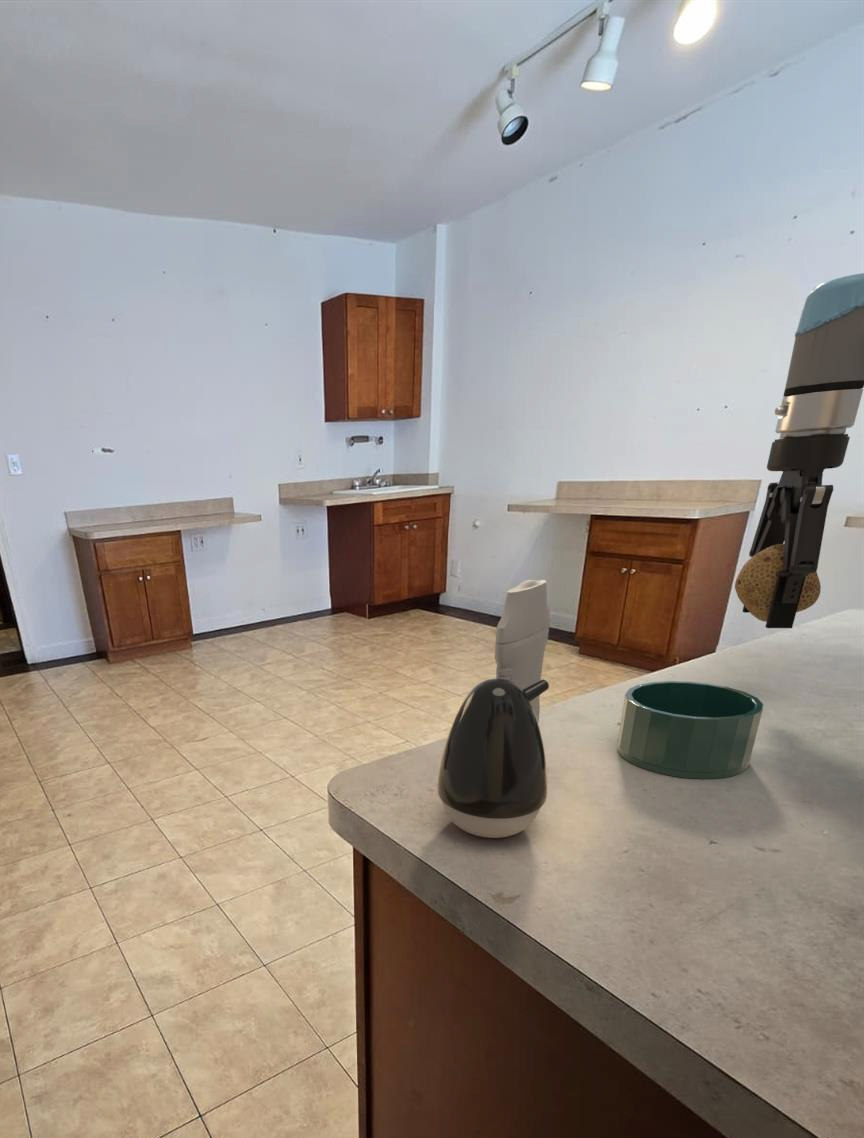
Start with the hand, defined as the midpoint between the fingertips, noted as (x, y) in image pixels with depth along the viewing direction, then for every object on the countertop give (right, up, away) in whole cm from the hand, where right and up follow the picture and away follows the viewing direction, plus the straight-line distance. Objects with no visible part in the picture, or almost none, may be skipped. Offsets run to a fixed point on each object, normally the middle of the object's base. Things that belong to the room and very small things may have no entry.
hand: (765, 619), depth 87 cm
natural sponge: (0, 0, 0) cm, 0 cm away
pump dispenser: (-45, -26, -22) cm, 57 cm away
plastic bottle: (-39, -21, -13) cm, 47 cm away
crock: (-19, -19, -11) cm, 29 cm away
